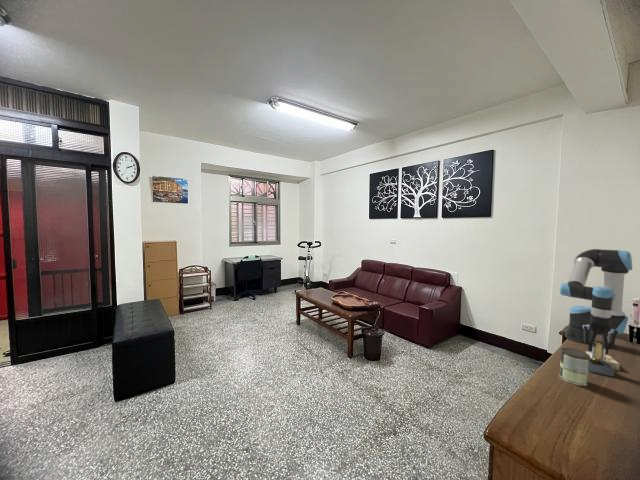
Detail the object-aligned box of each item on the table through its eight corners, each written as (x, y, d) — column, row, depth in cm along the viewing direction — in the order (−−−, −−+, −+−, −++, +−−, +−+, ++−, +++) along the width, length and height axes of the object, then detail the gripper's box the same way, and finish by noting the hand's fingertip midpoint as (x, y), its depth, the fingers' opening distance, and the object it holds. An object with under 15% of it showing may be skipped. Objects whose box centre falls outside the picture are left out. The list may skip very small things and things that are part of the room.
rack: (585, 356, 157) (585, 350, 157) (608, 361, 152) (609, 355, 152) (593, 365, 146) (594, 359, 146) (619, 370, 142) (619, 364, 141)
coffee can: (553, 373, 136) (555, 346, 136) (575, 375, 135) (577, 348, 135) (570, 384, 126) (572, 356, 125) (593, 387, 125) (596, 358, 124)
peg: (590, 364, 144) (592, 341, 144) (599, 366, 142) (601, 343, 142) (593, 367, 141) (595, 343, 140) (602, 369, 139) (604, 345, 139)
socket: (580, 363, 148) (580, 356, 148) (604, 368, 144) (605, 361, 143) (587, 371, 140) (587, 363, 140) (613, 376, 135) (614, 369, 135)
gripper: (582, 315, 141) (578, 357, 142) (626, 321, 133) (622, 366, 134) (577, 311, 148) (573, 351, 149) (619, 317, 140) (615, 359, 141)
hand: (597, 358), depth 142 cm, fingers closed on peg, 4 cm apart
